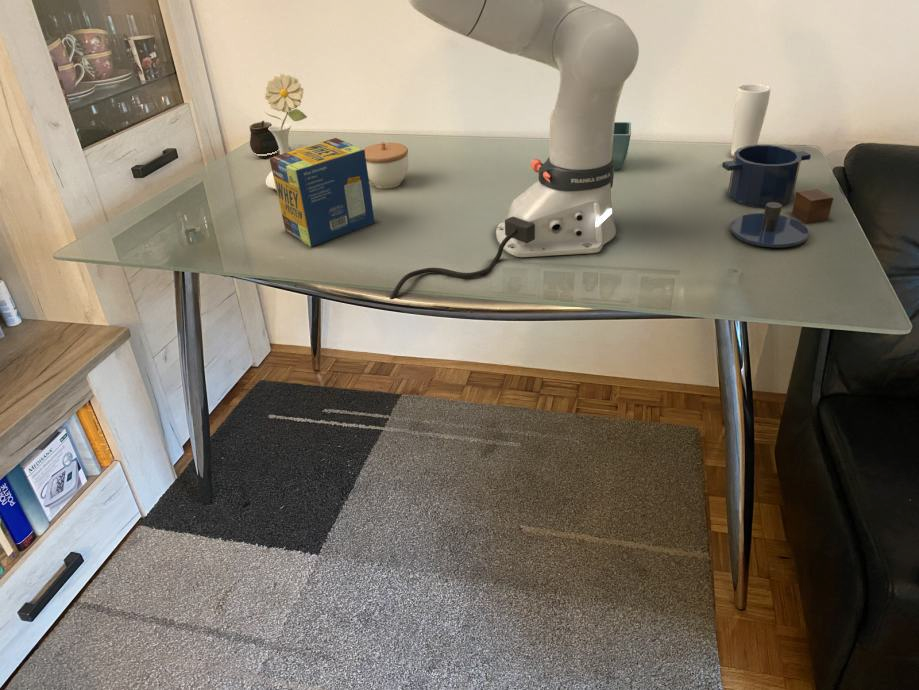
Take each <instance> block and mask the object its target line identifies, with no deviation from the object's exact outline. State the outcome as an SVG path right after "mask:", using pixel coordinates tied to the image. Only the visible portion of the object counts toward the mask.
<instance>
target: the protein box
mask: <svg viewBox="0 0 919 690" xmlns="http://www.w3.org/2000/svg"><path fill="white" fill-rule="evenodd" d="M268 159H269V163H270V167H271V168H270V169H271V171H272V172H273V177H274V181H275V186H276V190H275V191H276V195H277V198H278V203H279V207H280V212H281V218H282V221H283V226H284V231H285V232H286V233H288V234H289V235H291V236H292V237H294V238H296V239H297V240H299V241H301V243H304V244H305V245H307V247H310V248H312V247H314V246H318V245H321V244H323V243H325V242H328V241H330V240H334V239H337V238H339V237H342V236H344V235H347V234H350V233H352V232H355V231H357V230H361V229H363V228H366V227H367V226H371V225H373V224H375V222H376V221H375V214H374V208H373V200H372V193H371V185H370V181H369V178H368V171H367V164H366V157H365V150H364V148H361V147H359V146H356V145H354V144H351V143H349V142H347V141H345V140H342V139H339V138H337V137H334V138H330V139H327V140H324V141H322V142H318V143H314V144H311V145H307V146H304V147H301V148H297V149H294V150H291V151H290V152H287V153H284V154H281V155H280V154H276V155H275V156H273V157H270V158H268Z"/></svg>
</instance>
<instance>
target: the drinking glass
mask: <svg viewBox="0 0 919 690" xmlns="http://www.w3.org/2000/svg"><path fill="white" fill-rule="evenodd" d="M736 91H737V92H736V97H735V102H734V112H733V122H732V123H733V126H732V138H731V147H730V154H731V156H732V157H734V153H735V152H736V150H737V149H739V148H742V147H745V146H750V145H759V144H758V143H759V140H760V136H761V132H762V128H763V125H764V121H765V119H766V114H767V111H768V107H769V101H770V96H771V87H770V86H769V85H766V84H760V83H759V84H758V83H748V84H741V85H740V86H738V87H737V90H736Z"/></svg>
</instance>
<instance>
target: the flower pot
mask: <svg viewBox="0 0 919 690" xmlns="http://www.w3.org/2000/svg"><path fill="white" fill-rule="evenodd" d="M631 135H632V123H631V122H630V121H615V123H614V136H613V149H612V157H613V158H614V171H619V170H621V168H622V166H623V165H624V163H625V162H626V159H627V156H628V151H629V145H630V141H631Z"/></svg>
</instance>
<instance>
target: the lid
mask: <svg viewBox="0 0 919 690" xmlns="http://www.w3.org/2000/svg"><path fill="white" fill-rule="evenodd" d="M782 208H783V206H782V205H781V204H780V203H776V202H769V203H767V204H766V207H765V208H764V212H763V213H749V214H744V215H741V216H738V217H736V218H735V219H733V220H732V222H731V223H730V232H731V233H732V235H733V236H734V237H736V238H737V239H738V240H740V241H743V242H745V243H748V244H751V245H755V246H758V247H763V248H764V247H765V248H789V247H794V246H799V245H800V244H802V243H804V242H805V241H806V240H807V239H808V237H809V229H808V227H807V226H806V225H805V224H803V223H802V222H800V221H798V220H796V219H794V218H792V217H788V216H785V215H781V212H782Z"/></svg>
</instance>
